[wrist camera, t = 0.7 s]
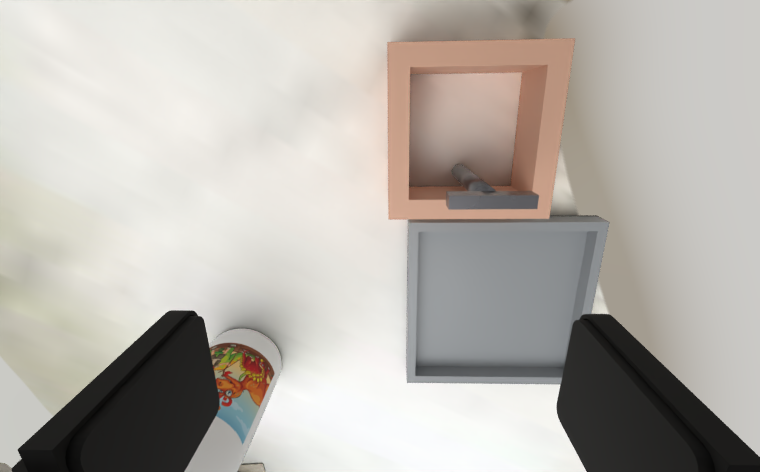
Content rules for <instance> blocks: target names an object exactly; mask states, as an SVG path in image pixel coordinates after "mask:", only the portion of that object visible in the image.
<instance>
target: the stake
mask: <svg viewBox="0 0 760 472" xmlns="http://www.w3.org/2000/svg"><path fill="white" fill-rule="evenodd" d="M452 175H453V176H454V177H455V178H456V179H457V180H458V181H459V182H460V184H461V185H462V186H463V187H464V188H465V189H466V190H467V191H446V206H447V208H448V209H449V210H463V209H537V208H538V200H539V195H538V194H536V193H534V192H533V191H496V190H495V189H493V188H492V187H491V186H489V185H488V184H487V183H486V182H484V181H483V180H482V179H480V178H479V177H478V176H476V175H475V174H474V173H472V172H471V171H470V170H469V169H467V168H466V167H465V166H463V165H461V164H457V165H455V166H454V167H453V169H452Z"/></svg>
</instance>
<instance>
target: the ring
mask: <svg viewBox="0 0 760 472" xmlns="http://www.w3.org/2000/svg"><path fill="white" fill-rule="evenodd" d="M574 43H575V38H570V39H521V40H473V41H425V42H388V203H389V219H549V217H550V210H551V203H552V196H553V189H554V182H555V175H556V168H557V161H558V154H559V147H560V141H561V134H562V126H563V120H564V112H565V106H566V99H567V92H568V85H569V77H570V71H571V63H572V57H573V49H574ZM508 72H522V79H521V89H520V98H519V108H518V117H517V127H516V137H515V146H514V156H513V165H512V175H511V184H510V186H491V187H492V188H493V189H495V190H496V191H533V192H534V193H536V194H538V195H539V200H538V208H537V209H463V210H449V209H448V208H447V206H446V191H467V190H466V189H465V188H464V187H463V186H426V187H409V132H410V74H452V73H508Z"/></svg>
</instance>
